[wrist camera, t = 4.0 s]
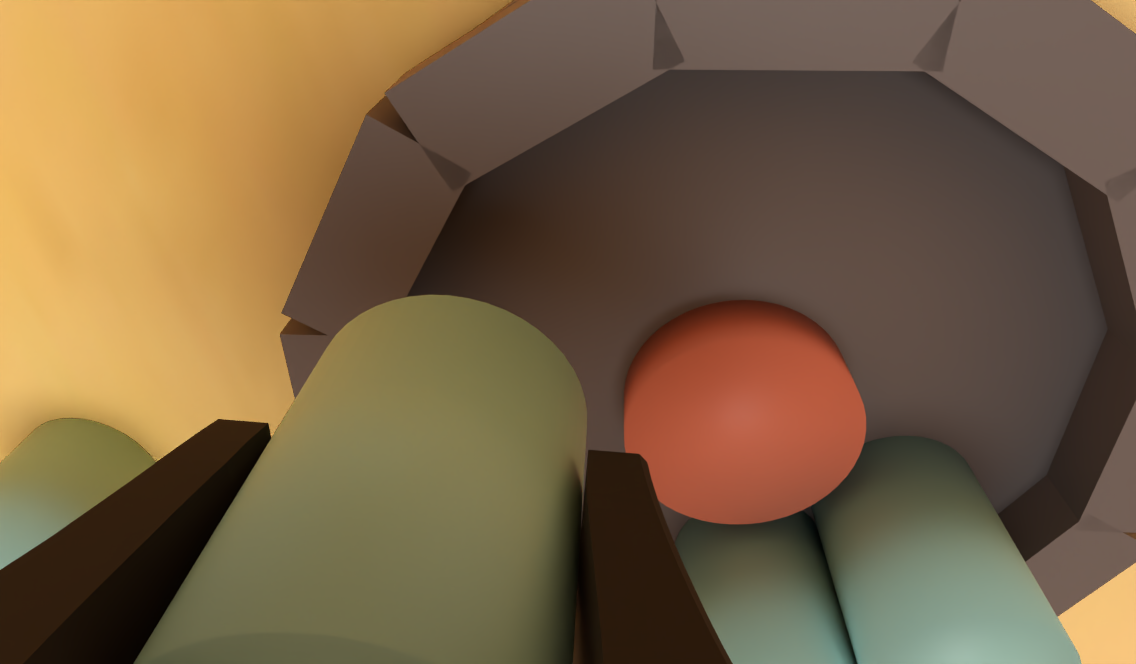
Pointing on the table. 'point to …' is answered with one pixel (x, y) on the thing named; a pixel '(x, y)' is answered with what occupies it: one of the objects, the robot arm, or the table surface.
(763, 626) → the pale green cylinder
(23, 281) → the table surface
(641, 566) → the robot arm
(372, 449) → the grey green cylinder
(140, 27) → the table surface
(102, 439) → the bead
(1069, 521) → the ring tray
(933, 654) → the bead
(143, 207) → the table surface
